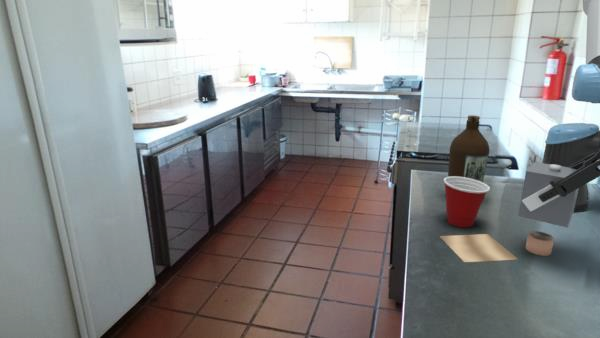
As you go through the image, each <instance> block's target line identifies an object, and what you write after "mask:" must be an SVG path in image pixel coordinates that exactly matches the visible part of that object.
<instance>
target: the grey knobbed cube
mask: <svg viewBox="0 0 600 338" xmlns="http://www.w3.org/2000/svg"><path fill="white" fill-rule="evenodd" d="M574 171H576V169H572V168H569V167H563V166H560V165H555V164H544V163H542V162H536V161H534V162H533V163H532V164H531V165H530V166H529V168H527V169H526V171H525V175H524V180H523V181H524V182H523V187H522V192H521V199H520V203H519V208H518V209H519V210H518V214H517V217H521V218H525V219H528V220H529V219H530V220H534V221H538V222H541V223H545V224H549V225H554V226H559V227H563V228H568V227H569V225H570V223H571V221H572V218H573V215H574V208H575V203H576V199H577V194H578V190H579V188H578V189H576V190H574V191H573V192H571V193H569V194H567V196H565V197H562V196H560V197H558V198H556V199H554V200H552V201H550V202H548V203H546V204H544V205H542V206H540V207H538V208H537V209H535V210H533V211H531V212H530V210H529V209H528V208H527V207H526V205H525V204H524V203H523V202H522V200H523V199H525V198H527V197H529V196H531V195H532V194H534V193H536V192H538V191H540V190H542V189H543V188H545V187H547V186H549V185H551V184H550V183H549V182H551V181H553V182H554V183H557V182H558V181H560V180H561V179H563V178H565V177H566V176H568V175H569V174H571V173H573V172H574ZM562 187H563V186H562ZM563 188H564V187H563ZM564 189H565V188H564Z"/></svg>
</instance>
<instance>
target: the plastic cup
mask: <svg viewBox="0 0 600 338" xmlns="http://www.w3.org/2000/svg"><path fill="white" fill-rule="evenodd" d="M443 183H444V188H445V191H444V193H445V201H446V203H445V205H446V207H445V208H446V211H445V212H446V218H447V220H446V221H447V223H448V224H450V225H451V226H454V227H459V228H471V227H472V226H474V224H475V221H476V218H477V216H478V213H479V210H480V207H481V205H482V202H483V200H484V198H485V196H487V195H486V194H487V193H488V192H490V191H491V190H490V186H489V185H488V184H486V183H485V182H484V181H483V182H480V181H477V180H474V179H471V178H466V177H458V176H450V177H448V176H446V177H444V179H443Z"/></svg>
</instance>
